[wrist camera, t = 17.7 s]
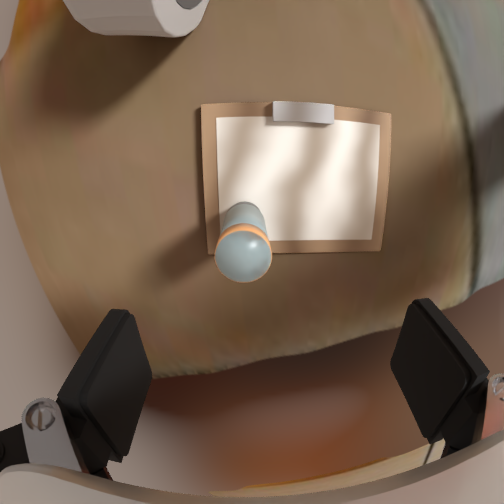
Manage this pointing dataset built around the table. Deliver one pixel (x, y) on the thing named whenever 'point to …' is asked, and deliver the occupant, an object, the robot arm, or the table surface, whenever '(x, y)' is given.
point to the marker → (243, 244)
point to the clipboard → (298, 172)
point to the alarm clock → (138, 16)
